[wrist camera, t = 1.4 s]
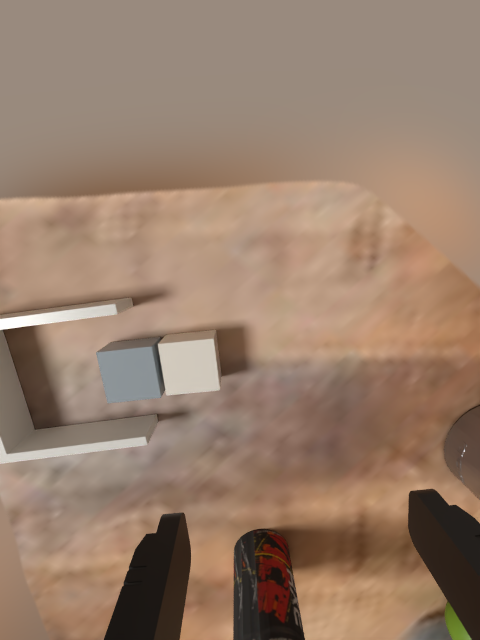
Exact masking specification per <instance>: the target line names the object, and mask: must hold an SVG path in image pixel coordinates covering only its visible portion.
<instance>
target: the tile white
mask: <svg viewBox="0 0 480 640" xmlns="http://www.w3.org/2000/svg"><path fill="white" fill-rule="evenodd" d="M158 349H159V355H160V361H161V366H162V372H163V378H164V384H165V390H166V395H176V394H187V393H197V392H207V391H218V390H220V386H221V378H222V375H221V367H220V358H219V350H218V342H217V334H216V330H208V331H198V332H188V333H178V334H168V335H165V337H164V338H163V339H162V340H161V341H160V342H159V343H158Z"/></svg>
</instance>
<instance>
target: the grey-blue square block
mask: <svg viewBox="0 0 480 640" xmlns="http://www.w3.org/2000/svg"><path fill="white" fill-rule="evenodd" d="M160 341H161V337H154V338H145V339H136V340H127V341H118V342H110V343H109V344H108V345H106V346H105V347H103V348H102V349H100V350H99V351H97V352H96V354H97V359H98V363H99V367H100V372H101V376H102V381H103V385H104V389H105V394H106V398H107V402H108V403H115V402H125V401H134V400H143V399H153V398H161V397H162V395H163V393H164V391H165V384H164V378H163V372H162V366H161V361H160V355H159V349H158V343H159V342H160Z"/></svg>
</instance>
